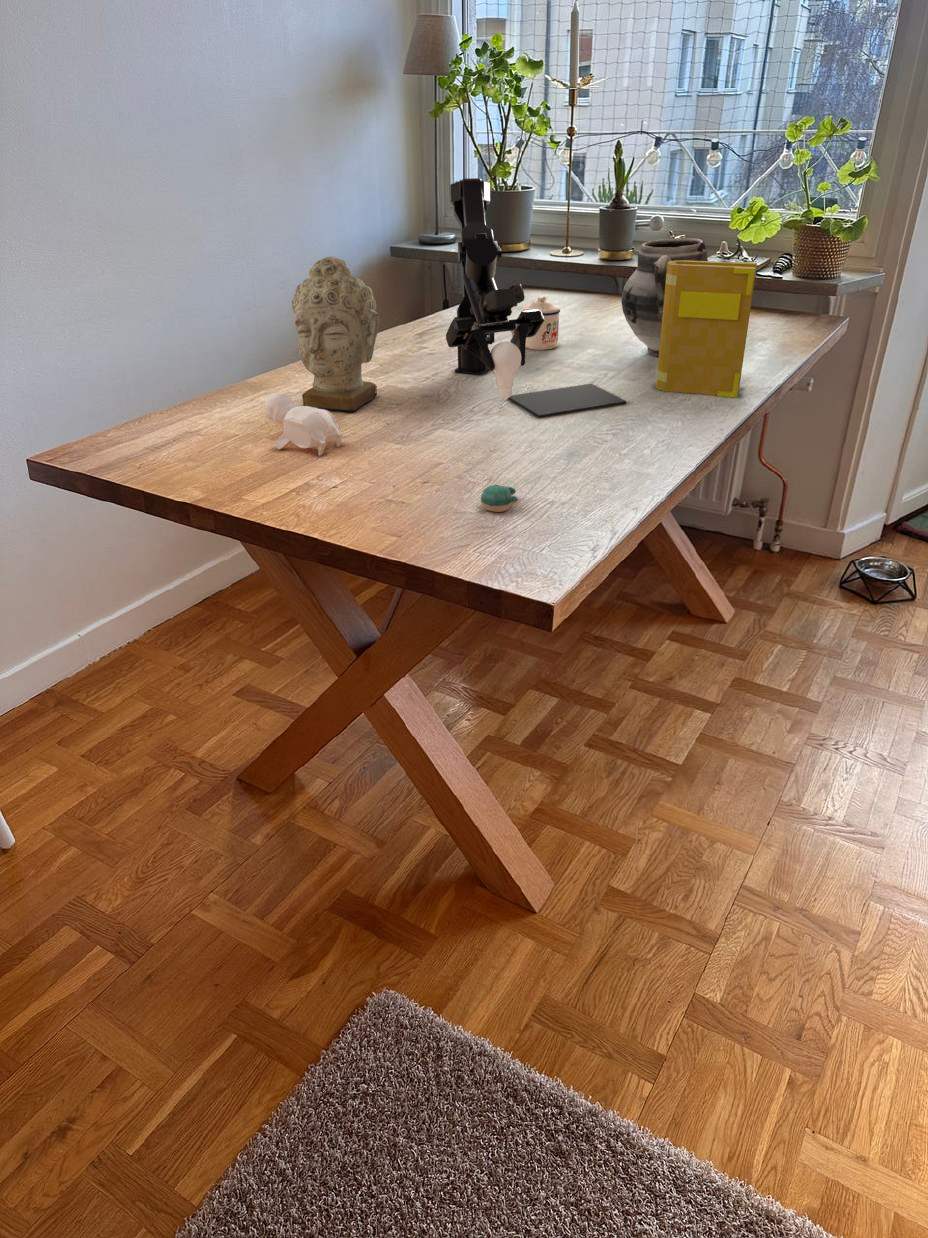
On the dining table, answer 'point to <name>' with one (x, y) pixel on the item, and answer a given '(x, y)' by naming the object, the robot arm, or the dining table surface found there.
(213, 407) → the dining table surface
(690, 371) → the book
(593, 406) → the mat
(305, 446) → the white turtle figurine
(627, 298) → the ceramic pot
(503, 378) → the lightbulb
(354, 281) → the buddha head
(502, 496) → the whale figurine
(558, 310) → the teacup with lid
